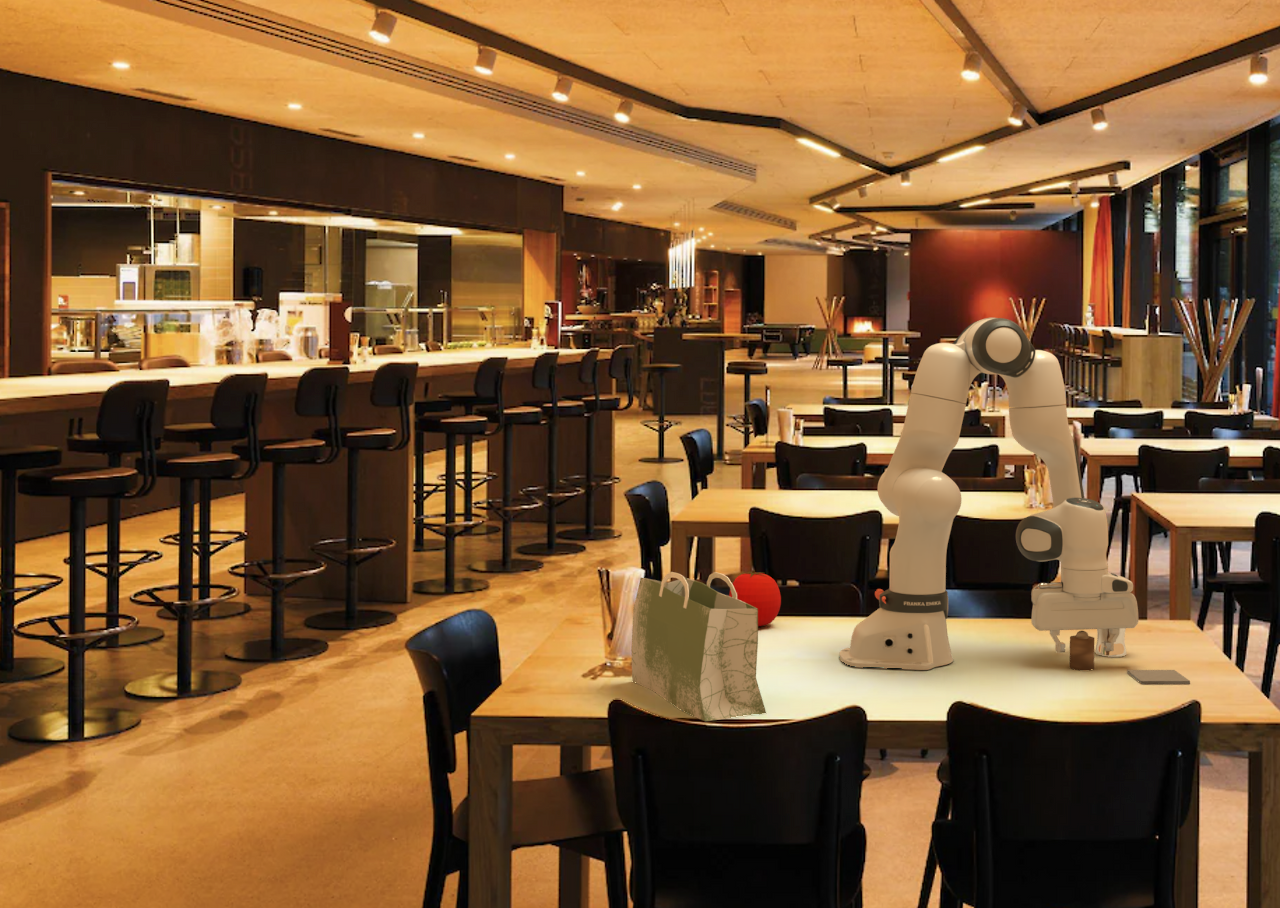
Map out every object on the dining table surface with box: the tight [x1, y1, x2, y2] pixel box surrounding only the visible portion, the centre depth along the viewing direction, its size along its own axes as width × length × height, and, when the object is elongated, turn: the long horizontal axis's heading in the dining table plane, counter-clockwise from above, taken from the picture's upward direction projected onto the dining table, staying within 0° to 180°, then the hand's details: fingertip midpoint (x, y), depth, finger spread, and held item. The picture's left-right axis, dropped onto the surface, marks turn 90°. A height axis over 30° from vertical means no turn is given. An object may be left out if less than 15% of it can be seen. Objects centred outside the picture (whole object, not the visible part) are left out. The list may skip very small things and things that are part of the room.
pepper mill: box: [1068, 630, 1095, 671], centre depth 295 cm, size 5×5×7 cm
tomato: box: [728, 569, 782, 627], centre depth 337 cm, size 12×12×13 cm
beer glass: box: [1094, 628, 1127, 658], centre depth 306 cm, size 7×7×15 cm
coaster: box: [1126, 669, 1191, 685], centre depth 286 cm, size 9×9×1 cm
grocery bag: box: [630, 571, 767, 722], centre depth 274 cm, size 32×14×23 cm, turn 24°
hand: (1084, 651), depth 296 cm, fingers open, 8 cm apart
